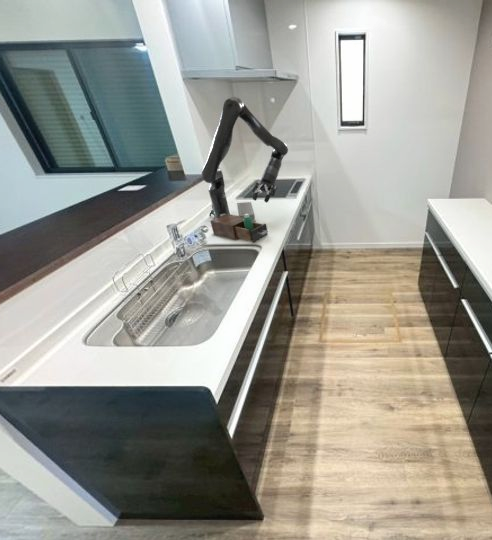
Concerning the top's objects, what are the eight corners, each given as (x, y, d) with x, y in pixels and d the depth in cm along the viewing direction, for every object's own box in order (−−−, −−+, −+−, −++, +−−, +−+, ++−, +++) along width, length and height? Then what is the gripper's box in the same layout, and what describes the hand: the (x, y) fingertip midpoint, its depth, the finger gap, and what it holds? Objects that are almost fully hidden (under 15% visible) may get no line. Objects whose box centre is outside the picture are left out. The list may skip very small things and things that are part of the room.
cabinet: (251, 232, 175) (249, 218, 170) (235, 240, 165) (232, 225, 161) (230, 227, 182) (227, 213, 178) (213, 234, 173) (210, 220, 168)
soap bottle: (244, 235, 166) (240, 215, 160) (250, 232, 169) (246, 212, 163) (250, 236, 164) (246, 216, 158) (256, 233, 167) (252, 213, 161)
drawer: (273, 236, 167) (271, 224, 163) (259, 244, 158) (257, 232, 155) (246, 230, 175) (244, 219, 172) (232, 237, 167) (229, 226, 163)
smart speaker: (256, 219, 193) (252, 197, 185) (254, 224, 185) (250, 202, 178) (241, 220, 192) (236, 199, 184) (239, 225, 184) (234, 203, 177)
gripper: (256, 170, 169) (246, 196, 167) (276, 173, 163) (265, 199, 161) (264, 178, 176) (254, 202, 173) (283, 180, 170) (273, 205, 167)
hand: (259, 200), depth 167 cm, fingers open, 8 cm apart
